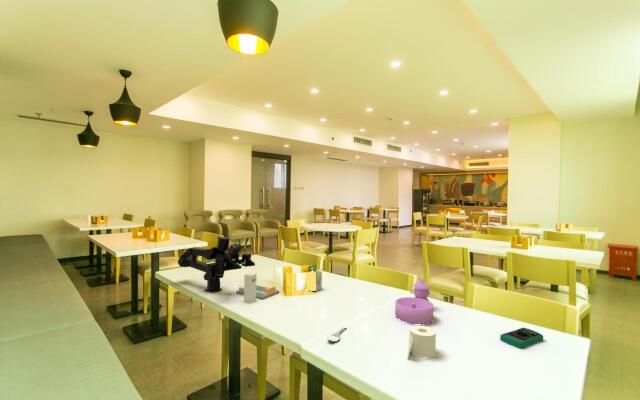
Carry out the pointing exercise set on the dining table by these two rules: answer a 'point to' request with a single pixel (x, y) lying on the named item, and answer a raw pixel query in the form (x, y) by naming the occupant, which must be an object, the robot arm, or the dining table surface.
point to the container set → (415, 306)
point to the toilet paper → (422, 341)
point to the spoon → (337, 334)
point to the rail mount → (261, 291)
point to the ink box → (317, 277)
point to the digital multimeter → (521, 337)
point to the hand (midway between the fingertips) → (248, 266)
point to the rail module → (250, 287)
